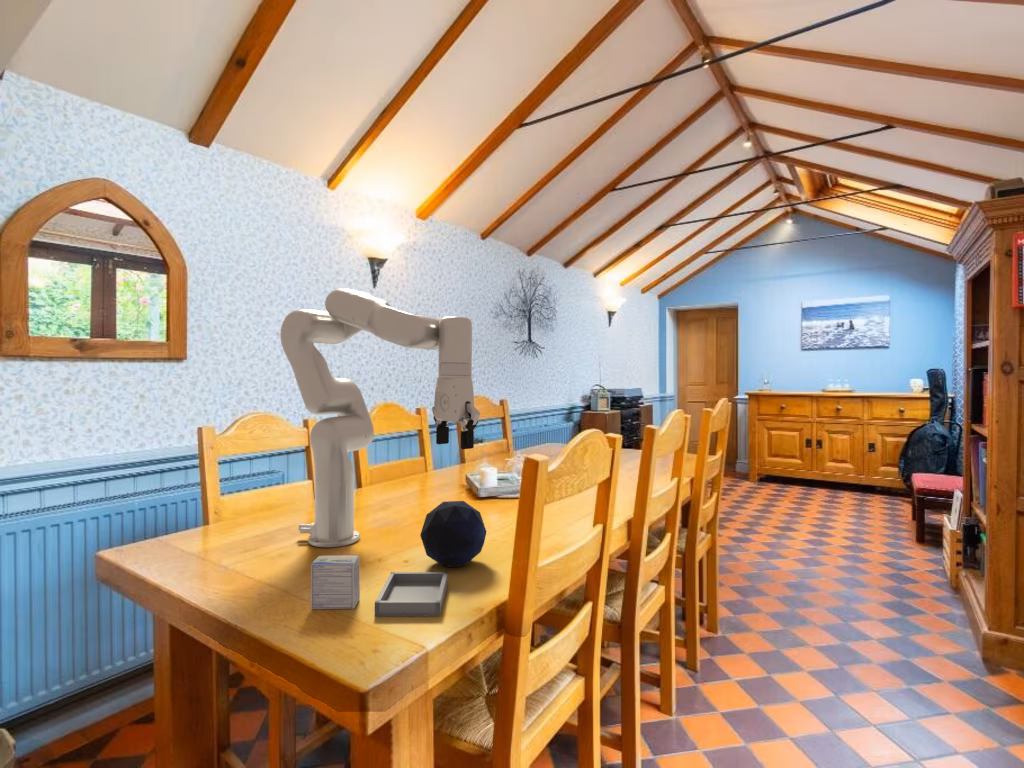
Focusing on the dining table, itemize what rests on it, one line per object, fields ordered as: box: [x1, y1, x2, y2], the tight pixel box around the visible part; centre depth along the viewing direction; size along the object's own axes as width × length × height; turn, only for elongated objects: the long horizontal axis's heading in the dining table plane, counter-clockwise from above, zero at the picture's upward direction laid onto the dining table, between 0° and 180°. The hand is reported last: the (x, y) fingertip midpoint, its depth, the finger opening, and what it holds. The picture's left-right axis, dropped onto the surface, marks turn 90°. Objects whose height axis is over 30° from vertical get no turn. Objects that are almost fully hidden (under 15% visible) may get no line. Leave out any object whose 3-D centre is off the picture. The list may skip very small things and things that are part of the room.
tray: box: [374, 571, 449, 617], centre depth 105 cm, size 12×15×2 cm
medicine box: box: [310, 554, 361, 610], centre depth 102 cm, size 8×4×9 cm, turn 92°
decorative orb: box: [420, 500, 487, 568], centre depth 124 cm, size 14×15×15 cm
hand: (454, 446), depth 125 cm, fingers open, 9 cm apart
